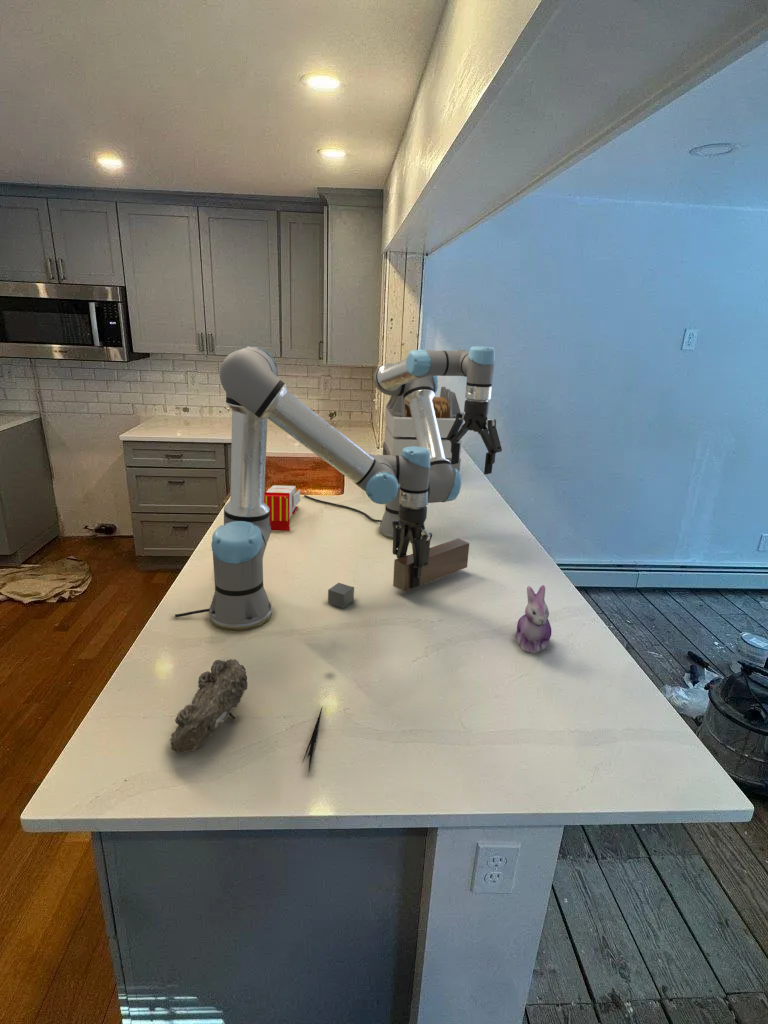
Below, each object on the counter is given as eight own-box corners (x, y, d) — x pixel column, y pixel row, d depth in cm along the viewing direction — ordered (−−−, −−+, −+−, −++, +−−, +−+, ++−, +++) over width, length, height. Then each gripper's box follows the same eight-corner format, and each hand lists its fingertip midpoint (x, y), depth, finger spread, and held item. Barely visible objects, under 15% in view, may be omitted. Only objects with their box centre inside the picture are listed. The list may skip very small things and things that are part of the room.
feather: (331, 679, 122) (336, 673, 122) (307, 777, 96) (313, 769, 95) (324, 675, 122) (329, 669, 121) (298, 772, 95) (304, 764, 95)
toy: (302, 480, 222) (292, 494, 192) (302, 514, 224) (292, 532, 195) (271, 480, 221) (256, 493, 192) (271, 513, 224) (256, 531, 195)
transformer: (381, 463, 289) (385, 382, 275) (444, 464, 292) (450, 384, 279) (389, 482, 257) (393, 392, 243) (459, 483, 261) (467, 394, 247)
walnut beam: (393, 585, 159) (394, 559, 156) (456, 562, 175) (458, 538, 172) (403, 591, 155) (405, 565, 153) (467, 567, 172) (469, 543, 169)
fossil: (195, 660, 117) (247, 628, 112) (227, 691, 120) (279, 661, 115) (146, 746, 98) (206, 711, 93) (185, 779, 101) (245, 748, 96)
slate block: (327, 603, 151) (328, 589, 150) (338, 595, 156) (338, 582, 154) (343, 608, 149) (343, 594, 148) (353, 600, 153) (354, 587, 152)
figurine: (532, 659, 131) (541, 601, 125) (504, 636, 139) (511, 581, 134) (562, 649, 135) (572, 593, 130) (533, 628, 143) (541, 575, 138)
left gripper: (381, 498, 155) (378, 575, 163) (426, 517, 143) (420, 599, 151) (401, 494, 160) (397, 568, 168) (446, 511, 147) (440, 591, 155)
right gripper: (438, 395, 176) (433, 461, 184) (502, 407, 159) (494, 480, 166) (455, 393, 181) (449, 458, 188) (519, 405, 163) (510, 476, 171)
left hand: (408, 583), depth 159 cm, fingers closed on walnut beam, 4 cm apart
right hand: (470, 468), depth 177 cm, fingers open, 13 cm apart
